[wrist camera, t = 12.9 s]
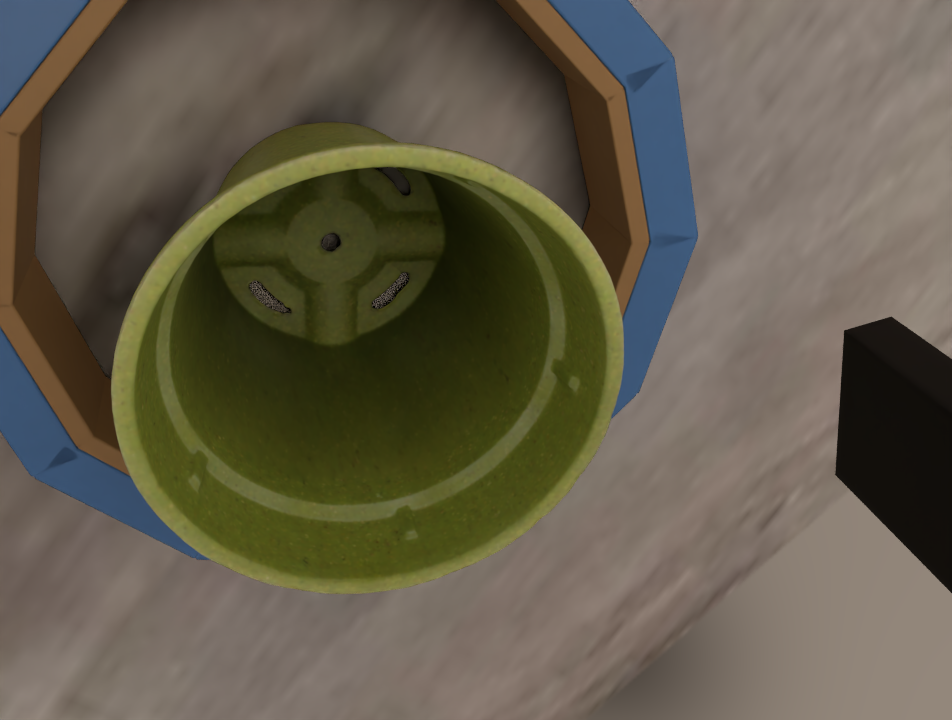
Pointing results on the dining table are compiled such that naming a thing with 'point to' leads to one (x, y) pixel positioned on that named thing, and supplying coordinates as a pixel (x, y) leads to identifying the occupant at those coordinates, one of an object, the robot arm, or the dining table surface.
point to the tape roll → (606, 226)
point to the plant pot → (365, 364)
